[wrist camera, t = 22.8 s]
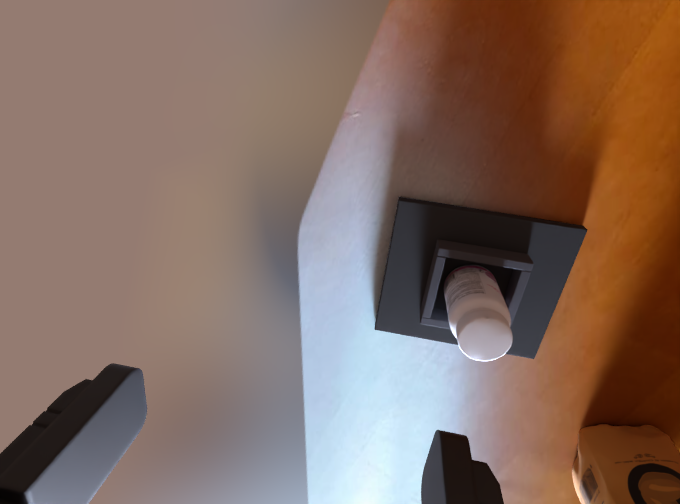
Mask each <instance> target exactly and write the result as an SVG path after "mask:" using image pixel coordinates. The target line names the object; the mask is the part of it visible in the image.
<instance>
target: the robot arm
mask: <svg viewBox="0 0 680 504" xmlns="http://www.w3.org/2000/svg"><path fill="white" fill-rule="evenodd" d="M146 414H147V405H146V396H145V388H144V379H143V373H142V370H140V369H139V368H134V367H129V366H124V365H119V364H110V365H108V366H107V367H105V368H104V369H103V370H102V371H101V373H100V374H99V375H98V376H97V377H96V378H95V379H94V380H87V379H86V380H84V381H82V382H80V383H78V384H77V385H75V386H73V387H72V388H70V389H68V390H66V391H65V392H63V393H62V394H61V395H60V396H59V397H58V398H57V399H56V400H55V401H54V402H53V403H52V404H51V405H50V406H49V407H48V408H47V411H46V412H45V411H44V412H43V413H42V414H41V415H40V416H39V417H38V418H37V419H36V420H35V421H33V424H32V425H29V426H28V427H27V428H26V429H25V430H24V431H23V432H22V433H21V434H20V435H19V436H18V437H17V438H16V439H15V440H14V441H13V442H12V443H11V444H10V445H9V446H8V447H7V448H6V449H5V450H4V451H3V452H2V453H1V454H0V504H88V503H89V502H90V501H91V499H92V498H93V496H94V495H95V493H96V492H97V491H98V490H99V488H100V487H101V485H102V484H103V483H104V481H105V480H106V478H107V477H108V476H109V474H110V473H111V471H112V470H113V468H114V467H115V466H116V464H117V463H118V462H119V460H120V459H121V457H122V456H123V455H124V453H125V452H126V450H127V449H128V448H129V446H130V445H131V443H132V442H133V441H134V439H135V438H136V436H137V435H138V434H139V432H140V430H141V429H142V427H143V424H144V422H145V419H146ZM421 501H422V504H504V502H503V498H502V493H501V489H500V484H499V483H498V481H497V479H496V478H495V476H494V474H493V473H492V471H491V469H490V468H489V466H488V464H487V463H484V462H479V461H474V460H472V458H471V452H470V446H469V441H468V438H467V436H465V435H460V434H455V433H450V432H445V431H440V430H437V431H436V432H435V435H434V438H433V441H432V444H431V447H430V451H429V454H428V457H427V460H426V463H425V467H424V471H423V476H422V486H421Z"/></svg>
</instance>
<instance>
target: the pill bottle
mask: <svg viewBox="0 0 680 504" xmlns="http://www.w3.org/2000/svg"><path fill="white" fill-rule="evenodd" d="M444 295H445V300H446V306H447V313H448V319H449V325H450V328H451V331H452V333H453V334H454V336H455V337H456V338H457V341H458V345H459V347H460V349H461V351H462V352H463V353H464V354H465V355H466V356H468V357H470V358H472V359H474V360H478V361H490V360H494V359H497V358H500V357H501V356H503V355H504V354H505V353H506V352H507V351H508V350H509V349H510V347H511V345H512V341H513V335H512V332H511V329H510V325H511V317H510V313H509V310H508V308H507V305H506V303H505V300H504V298H503V296H502V293H501V291H500V289H499V286H498V284H497V282H496V279H495V277H494V276H493V274H492V273H491V272H490V271H489V270H487V269H486V268H484V267H482V266H479V265H464V266H461V267H458V268H456V269H454V270H453V271H452V272H451V273H450V274H449V275H448V276H447V278H446V280H445V283H444Z"/></svg>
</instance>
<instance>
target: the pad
mask: <svg viewBox="0 0 680 504" xmlns="http://www.w3.org/2000/svg"><path fill="white" fill-rule="evenodd" d="M586 232H587V229H586V228H585V227H584V226H582V225H575V224H569V223H562V222H556V221H550V220H543V219H537V218H531V217H524V216H518V215H512V214H505V213H499V212H492V211H486V210H480V209H473V208H467V207H461V206H454V205H448V204H442V203H435V202H429V201H422V200H416V199H410V198H403V197H399V200H398V205H397V211H396V216H395V221H394V227H393V232H392V237H391V243H390V248H389V253H388V259H387V264H386V269H385V275H384V280H383V285H382V291H381V296H380V301H379V307H378V312H377V317H376V323H375V330H380V331H385V332H391V333H396V334H401V335H407V336H412V337H418V338H423V339H428V340H434V341H439V342H445V343H450V344H456V345H458V341H457V338H456V337H455V336H454V334H453V333H452V331H451V328H450V325H449V319H448V313H447V306H446V300H445V295H444V283H445V280H446V278H447V276H448V275H449V274H450V273H451V272H452V271H453V270H454V269H456V268H458V267H461V266H464V265H479V266H482V267H484V268H486V269H487V270H489V271H490V272H491V273H492V274H493V276H494V277H495V279H496V282H497V284H498V286H499V289H500V291H501V293H502V296H503V298H504V300H505V303H506V305H507V308H508V310H509V313H510V317H511V325H510V329H511V332H512V335H513V341H512V345H511V347H510V349H509V350H508V351H507V352H506V353H505V354H510V355H515V356H521V357H526V358H531V359H534V358H535V356H536V353H537V351H538V348H539V346H540V344H541V341H542V339H543V336H544V334H545V331H546V329H547V327H548V324H549V322H550V319H551V317H552V314H553V312H554V310H555V307H556V305H557V302H558V300H559V298H560V295H561V293H562V290H563V288H564V285H565V283H566V281H567V278H568V276H569V273H570V271H571V268H572V266H573V264H574V261H575V259H576V256H577V254H578V252H579V249H580V247H581V244H582V242H583V239H584V237H585V235H586Z"/></svg>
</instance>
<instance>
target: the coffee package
mask: <svg viewBox="0 0 680 504" xmlns="http://www.w3.org/2000/svg"><path fill="white" fill-rule="evenodd" d="M572 476H573V482H574V486H575V490H576V493H577V495H578V497H579V499H580V502H581V504H680V453H679V452H678V450H677V449H676V448H675V446H674V444H673V442H672V441H671V439H670V437H669V436H668V435H667V434H665V433H663V432H662V431H660V430H659V429H657V428H656V427H654V426H651V425H643V426H641V427H630V426H625V425H623V426H610V425H608V424H599V425H597V426H589V427H585V428H582V429H581V430H580V431H579V434H578V456H577V458H576V460H575V461H574V463H573V467H572Z"/></svg>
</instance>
